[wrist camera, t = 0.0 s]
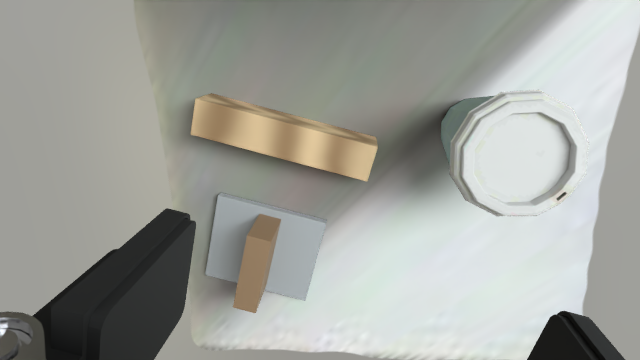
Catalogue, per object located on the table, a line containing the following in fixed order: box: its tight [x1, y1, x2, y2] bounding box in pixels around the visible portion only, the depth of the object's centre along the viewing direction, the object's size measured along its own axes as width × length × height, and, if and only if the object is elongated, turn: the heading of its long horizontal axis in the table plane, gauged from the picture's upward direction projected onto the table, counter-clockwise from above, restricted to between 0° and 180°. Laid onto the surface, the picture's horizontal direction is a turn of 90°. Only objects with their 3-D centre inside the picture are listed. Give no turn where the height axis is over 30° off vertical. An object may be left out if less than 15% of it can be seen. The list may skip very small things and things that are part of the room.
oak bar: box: [191, 93, 378, 181], centre depth 44 cm, size 20×4×5 cm, turn 76°
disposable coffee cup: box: [441, 90, 589, 216], centre depth 37 cm, size 11×11×15 cm
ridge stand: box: [205, 193, 327, 313], centre depth 49 cm, size 12×14×7 cm
